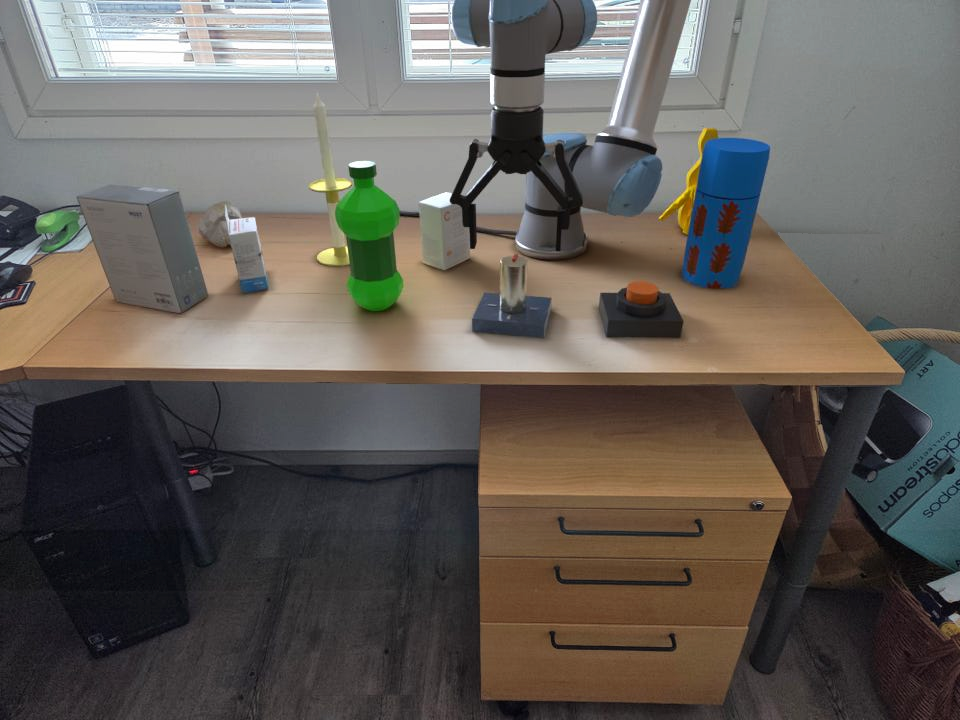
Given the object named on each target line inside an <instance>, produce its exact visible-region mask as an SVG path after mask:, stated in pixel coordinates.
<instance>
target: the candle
mask: <svg viewBox="0 0 960 720" xmlns="http://www.w3.org/2000/svg"><path fill="white" fill-rule="evenodd" d="M313 111H314V119H315V126H316V132H317V138H318V146H319V152H320V160H321V166H322V174H323V178H322V179H318V180H314V181H312V182H310V183H309V184H308V189H309V190H310V191H312V192H314V193H315V192H316V193H324V194H325V198H326V199H325V200H326V207H327V214H328V219H329V227H330V232H331V239H332V247H330V248H327V249H325V250H322V251H320V252H319V253H318V254H317V255H316V262H318V264H320V265H323V266H328V267H346V266H350V262H349V255H348V247H347V245H346V239H345V234H344V233H343V232H342V231H341V230H340V229H339V227H338V225H337V222H336V218H335V210H336V206H337V204H338V203H339V202H340V196H339V192H344V191H346V190H350V189H351V188H352V186H353V181H352V180H350V179H347V178H341V177H336V176H335V175H336V174H335V168H334V167H335V166H334V161H333V160H334V159H333V153H332V146H331V137H330V131H329V123H328V117H327V110H326V105H325V103H324V102H323V101H322V99H321V97H320V94H319V91H318V90H316V97H315V103H314V104H313Z"/></svg>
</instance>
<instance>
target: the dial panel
mask: <svg viewBox="0 0 960 720" xmlns="http://www.w3.org/2000/svg"><path fill="white" fill-rule="evenodd" d="M551 310H552V297H546V296H545V297H544V296H534V295H526V309H525V310H524V311H523V312H520V313H506V312H504V311H502V310H501V309H500V292H489V291H488V292H486V291H484V292H483V293H482V296H481V298H480V300H479V302H478V304H477V307H476V309H475V311H474V313H473V316H472V317H471V331H472V332H473V333H485V334H494V335H505V336H514V337H527V338H535V339H536V338H537V339H545V335H546V330H547V327H548V323H549V320H550V319H549V318H550V315H551Z"/></svg>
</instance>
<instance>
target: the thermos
mask: <svg viewBox="0 0 960 720" xmlns="http://www.w3.org/2000/svg"><path fill="white" fill-rule="evenodd" d="M770 154H771V146H770V145H769V144H768V143H766V142H763V141H760V140H755V139H752V138H751V139H750V138H744V137H743V138H742V137H718V138H716V139H711V140H708V141H707V142H706V144H705V147H704V150H703V154H702V159H701V165H700V170H699V176H698V181H697V188H696V192H695V198H694V204H693V209H692V215H691V220H690V226H689V231H688V235H687V236H686V243H685V247H684V248H685V249H684V253H683V261H682V262H683V263H682V269H681V276H682V278H683V279H684V280H685V281H686V282H687V283H689V284H691V285H693V286H697V287H700V288H703V289H711V290H723V289H730V288H733V287H735V286H737V285H738V283H739V280H740V277H741V274H742V272H743V271H742V270H743V267H744V264H745V260H746V256H747V252H748V248H749V243H750V240H751V235H752V231H753V227H754V223H755V218H756V214H757V211H758V206H759V201H760V199H761V193H762V189H763V185H764V181H765V177H766V172H767V168H768V165H769V160H770Z"/></svg>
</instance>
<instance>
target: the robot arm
mask: <svg viewBox="0 0 960 720" xmlns="http://www.w3.org/2000/svg"><path fill="white" fill-rule="evenodd" d="M691 2H692V0H640V1H639V4H638V7H637V8H638V9H637V13H636V16H635V20H634V23H633V27H632V31H631V35H630V39H629V42H628V47H627V50H626V53H625V58H624V61H623V65H622V68H621V71H620V76H619V78H618V83H617V88H616V91H615V95H614V98H613V102H612V106H611V110H610V113H609V116H608V121H607V125H606V127H604V129H602V130H600V131H599V132H597V133H596V135H595V139H594V143H593V145H590V144H587V143H588V139H587V135H586V134H584V133H581V132H561V133H560V132H559V133H551V134H546V135H544V112H545V111H544V109H543V107H542V105H543V104H544V102H545V83H546V82H545V80H546V79H545V78H546V77H545V76H546V73H545V72H546V55H550V54H555V53H561V52H566V51H567V52H571V51H573V50H576V49H578V48H581V47H583V46H584V45H586V44H587V43H588V42H589V41H590V40H591V39H592V38H593V36H594V34H595V32H596V29H597V27H598V10H597V7H596V4H595V2H594V1H593V0H454V1H453V3H452V7H451V10H450V22H451V27H452V31H453V34H454V36H455V38H456V39H457V40H458V41H459V42H460V43H462V44H465V45H470V46H475V47H477V48H482V47H487V48H490V73H489V85H490V87H489V89H490V92H489V93H490V104H491V105H492V106H493V107H492V108H491V109H490V140H489V142H483V141H480V140H479V139H477V138H474V139H472V140H471V142H470V144H469V147H468V158H467V161H466V162H465V165H464V167H463V170H462V172H461V174H460V175H459V178H458V180H457V182H456V185H455V187H454V189H453V190H452V192H451V193H452V195H451V198H450V203H451V204H457V205H459V206H461V208H462V223H463V226H464V227H469V239H470V250H475V249H476V247H477V244H478V239H477V235H478V234H477V232H481V233H487V234H493V235H503V236H515V240H514V241H515V244H514V245H515V248H516V250H517V251H518V252H520V253H521V254H523V255H524V256H528V257H530V258H534V259H540V260H547V261H549V260H550V261H556V260H558V261H559V260H566V259H572V258H575V257H577V256H580V255H582V254H583V253H584V252H585V251H586V249H587V244H588V242H589V235H586V232H585V229H584V223H583V217H582V214H581V209H582V208H583V209H587V210H591V211H592V210H593V211H597V212H600V213H605V214H608V215H610V216H616V217H617V216H620V217H624V218H633V217H637V216H639V215H640V214H641V213H643V212H644V210H646V208H647V207H648V206H649V205H650V204H651V203H652V201H653V199H654V197H655V195H656V193H657V191H658V189H659V186H660V184H661V179H662V176H663V174H662V171H663V162H662V159H661V158H659V156H658V155H656V154H657V151H658V148H659V147H658V145H657V143H656V141H655V140H654V138H653V135H654V131H655V129H656V125H657V121H658V118H659V115H660V110H661V106H662V103H663V100H664V97H665V93H666V89H667V86H668V82H669V79H670V75H671V72H672V69H673V65H674V62H675V59H676V54H677V51H678V48H679V44H680V41H681V37H682V33H683V31H684V26H685V23H686V20H687V17H688V12H689V11H690V6H691V4H692V3H691ZM486 152H487V153H488V155H489V156H490V157H491V159H492V160H493V161H492V163H491V164H490V166H489V167H488V168H487V169H486V171H485V172H484V173H483V174H482V175H481V177H480V178H479V179H478V180H477V181H476V182H475V184H474V185H473V186H472V187H471V189H470V190H468V192H467V194H465V195H463V193H462V192H463V191H464V189H465V186H466V185H467V183H468V180H469V178H470V176H471V173H472V171H473V170H474V167H475V165H476V163H477V160H478V159H480V158H482V157H483V155H484V153H486ZM500 171H501V172H502V173H505V175H513V174H518V175H525V189H524V191H525V192H524V212H523V215H522V218H521V221H520V224H519V229H518V230H517V231H515V230H514V231H513V230H504V229H503V230H500V229H493V228H485V227H481V226H477V204H476V203H474V202H475V200H476V199H477V198H478V197H479V195H480V194H482V192H483V191H484V190H485V188H486V187H487V186H488V185H489V183H490V182H491V181H492V180H493V179H494V178H495V177H496V176H497V175H498V174H499V172H500ZM399 214H400V216H401V215H402V216H414V217H415V216H419V217H420V214H419V211H408V210H407V211H405V210H400V209H399Z"/></svg>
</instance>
